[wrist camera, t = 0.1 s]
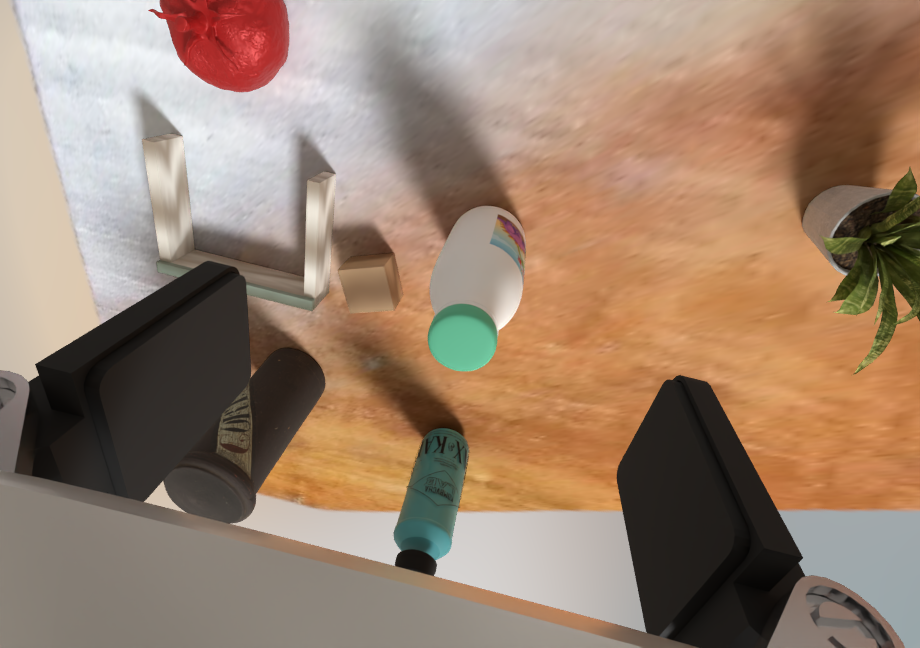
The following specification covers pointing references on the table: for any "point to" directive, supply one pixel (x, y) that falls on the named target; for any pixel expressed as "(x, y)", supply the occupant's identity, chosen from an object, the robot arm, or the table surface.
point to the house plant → (871, 249)
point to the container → (247, 439)
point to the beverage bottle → (431, 501)
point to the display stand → (261, 281)
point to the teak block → (371, 283)
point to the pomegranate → (229, 39)
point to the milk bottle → (476, 287)
